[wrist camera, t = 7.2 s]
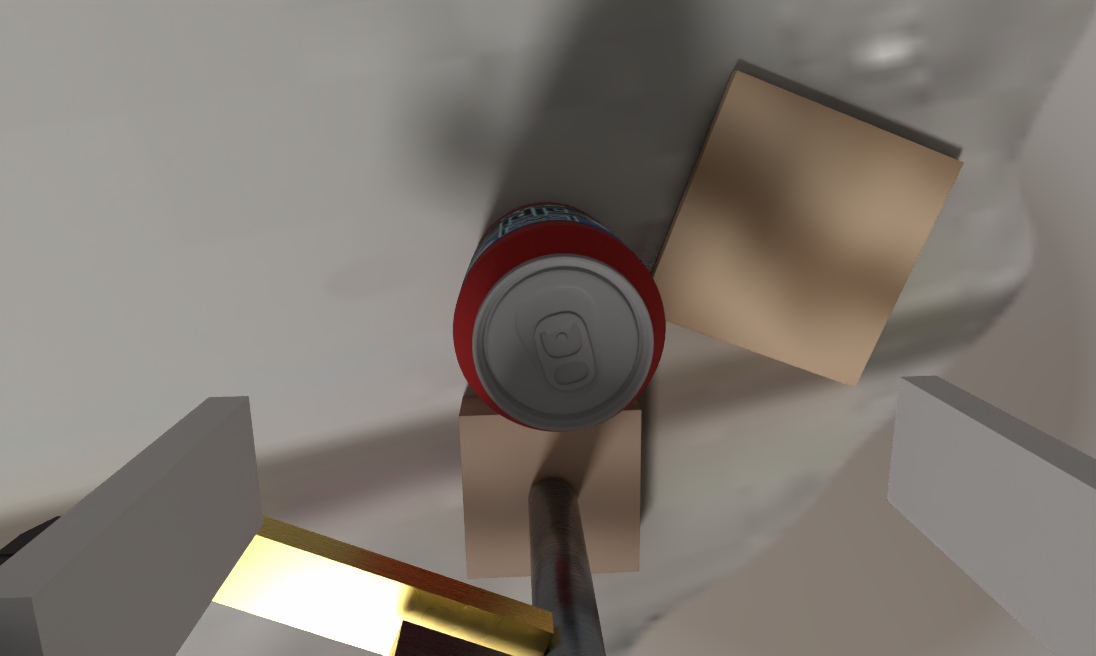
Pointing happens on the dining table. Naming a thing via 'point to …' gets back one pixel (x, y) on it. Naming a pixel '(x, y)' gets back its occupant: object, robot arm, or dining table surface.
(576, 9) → the dining table surface
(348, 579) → the t key
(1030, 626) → the robot arm
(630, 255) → the beverage can
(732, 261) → the mat
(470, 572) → the latch housing
